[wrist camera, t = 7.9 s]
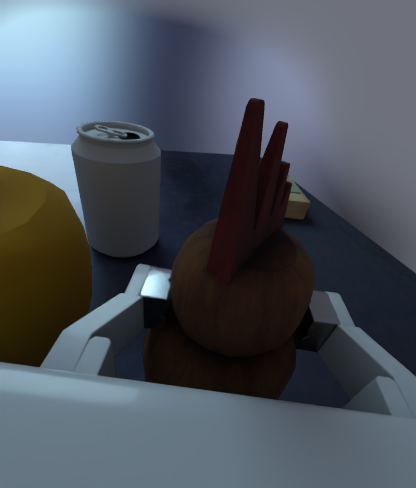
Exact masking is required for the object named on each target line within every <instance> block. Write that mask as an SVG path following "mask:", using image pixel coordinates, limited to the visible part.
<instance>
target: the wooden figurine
mask: <svg viewBox="0 0 416 488" xmlns="http://www.w3.org/2000/svg"><path fill="white" fill-rule="evenodd" d="M264 105H265V103H264V100H261V99H256V98H251V99H250V100H249V102H248V104H247V106H246V110H245V114H244V118H243V122H242V126H241V130H240V134H239V138H238V142H237V146H236V150H235V154H234V158H233V162H232V166H231V169H230V173H229V177H228V181H227V185H226V189H225V193H224V197H223V201H222V205H221V209H220V213H219V217H218V218H216V219H214V220H211V221H209V222H207V223H206V224H204V225H203V226H202V227H201V228H199V229H198V230H197V231H195V232H194V233H193V234H191V235H190V236H189V237H188V238H187V239H186V241H185V243H184V245H183V247H182V248H181V250H180V252H179V254H178V255H177V257H176V259H175V261H174V263H173V266H172V272H171V277H170V282H171V298H172V306H171V308H170V313H169V318H168V322H167V327H166V330H161V329H152V328H150V329H149V331H148V333H147V335H146V337H145V338H144V345H143V362H144V372H145V380H146V382H150V383H157V384H165V385H172V386H179V387H186V388H194V389H201V390H208V391H216V392H223V393H230V394H238V395H245V396H252V397H260V398H267V399H274V400H277V399H278V397H279V396H280V394H281V393H282V391H283V390H284V388H285V386H286V385H287V383H288V382H289V380H290V378H291V376H292V374H293V371H294V369H295V364H296V347H295V343H294V339H293V333H294V332H295V330H296V329H297V327H298V326H299V324H300V323H301V321H302V319H303V317H304V315H305V313H306V311H307V308H308V305H309V303H310V300H311V297H312V295H313V289H314V282H315V277H314V270H313V264H312V261H311V259H310V257H309V255H308V253H307V252H306V250H305V249H304V247H303V246H302V245H301V243H300V242H299V240H298V239H296V238H295V237H294V236H292V235H291V234H289V233H288V232H287V231H285V230H284V229H282V226H283V222H284V218H285V213H286V209H287V205H288V201H289V196H290V192H291V187H292V183H291V182H288V181H287V176H288V172H289V168H290V163H287V162H284V161H281V158H282V154H283V149H284V143H285V138H286V134H287V129H288V123H286V122H282V121H278V123H277V124H276V126H275V128H274V131H273V134H272V136H271V138H270V141H269V143H268V145H267V148H266V151H265V153H264V156H263V158H262V161H261V163H260V152H261V141H262V130H263V129H262V128H263V119H264ZM259 163H260V166H259Z"/></svg>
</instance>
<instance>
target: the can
mask: <svg viewBox="0 0 416 488" xmlns="http://www.w3.org/2000/svg"><path fill="white" fill-rule="evenodd" d="M77 133H78V134H79V136H78V138H77V139H76V140H75V141H74V143H73V144H72V145H71V150H72V156H73V161H74V166H75V172H76V177H77V183H78V188H79V193H80V199H81V204H82V210H83V215H84V220H85V226H86V231H87V237H88V242H89V243H90V245H91V246H92V247H93V248H94V249H96V250H97V251H99V252H101V253H104V254H106V255H109V256H113V257H122V258H126V257H132V256H136V255H139V254H141V253H143V252H145V251H147V250H148V249H150V248H151V247H152V246H154V245H155V243H156V242H157V240H158V236H159V203H160V165H161V150H160V149H159V148H158V147H157V146H156V144H155V143H154V142H153V140H152V139H153V138H154V133H153V132H152V131H151V130H150V129H147V128H145V127H143V126H140V125H136V124H131V123H125V122H115V121H94V122H87V123H83V124H81V125H79V126H78V127H77Z"/></svg>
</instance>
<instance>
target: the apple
mask: <svg viewBox="0 0 416 488" xmlns="http://www.w3.org/2000/svg"><path fill="white" fill-rule="evenodd" d="M91 295H92V266H91V256H90V248H89V244H88V241H87V238H86V234H85V231H84V227H83V225H82V223H81V221H80V219H79V217H78V216H77V214H76V212H75V210H74V208H73V206H72V205H71V203H70V201H69V199H68V197H67V195H66V193H65V192H64V191H63V190H61V189H60V188H58V187H57V186H55V185H54V184H52V183H50V182H48V181H46V180H44V179H42V178H40V177H38V176H35V175H33V174H31V173H29V172H24V171H20V170H16V169H12V168H8V167H4V166H0V362H4V363H11V364H19V365H26V366H33V367H40V366H41V364H42V363H43V361H44V360H45V358H46V356H47V355H48V353H49V352H50V350H51V349H52V347H53V345H54V344H55V342H56V341H57V339H58V337H59V336H60V334H61V333H62V331H63V330H64V329H66V328H67V327H69V326H70V325H72V324H74V323H75V322H77V321H78V320H80V319H81V318H83V317H84V316H86V315H87V314H88V311H89V307H90V301H91Z"/></svg>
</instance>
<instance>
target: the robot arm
mask: <svg viewBox="0 0 416 488" xmlns="http://www.w3.org/2000/svg"><path fill="white" fill-rule="evenodd" d="M171 272H172V269H168V268H162V267H157V266H149V265H144V264H139V265H138V266H137V267H136V269H135V271H134V273H133V276H132V278H131V280H130V282H129V284H128V287H127V289H126V291H125V293H124V294H123V293H120V294H118V295H117V296H115V297H114V298H112V299H111V300H109V301H108V302H106V303H104V304H103V305H101V306H100V307H98V308H97V309H95V310H94V311H92V312H91V313H89V314H87V315H86V316H84V317H83V318H81V319H80V320H78V321H77V322H75V323H74V324H72V325H70V326H69V327H67V328H66V329H64V330H63V331H62V333H61V334H60V336H59V337H58V339H57V341H56V342H55V344H54V345H53V347H52V349H51V350H50V352H49V353H48V355H47V356H46V358H45V360H44V361H43V363H42V364H41V366H40V367H33V366H26V365H19V364H11V363H4V362H0V488H416V377H415V376H414V375H413V374H412V373H411V372H410V371H408V370H407V369H406V368H405V367H404V366H403V365H402V364H400V363H399V362H398V361H397V360H396V359H395V358H393V357H392V356H391V355H390V354H389V353H388V352H387V351H385V350H384V349H383V348H382V347H381V346H380V345H378V344H377V343H376V342H375V341H374V340H373V339H372V338H370V337H369V336H368V335H367V334H366V333H365V332H363V331H362V330H361V329H360V328H357V327H355V325H354V323H353V321H352V319H351V317H350V315H349V313H348V311H347V309H346V307H345V305H344V302H343V300H342V298H341V296H340V295H339V294H338V293H332V292H324V291H317V290H313V295H312V297H311V300H310V303H309V305H308V308H307V311H306V313H305V315H304V317H303V319H302V321H301V323H300V324H299V326H298V327H297V329H296V330H295V332H294V333H293V339H294V343H295V347H296V349H301V350H307V351H313V352H317V354H318V356H319V357H320V358H321V360H322V361H323V362H324V363H325V365H326V366H327V367H328V369H329V370H330V371H331V373H332V374H333V375H334V377H335V378H336V379H337V381H338V382H339V383H340V384H341V386H342V387H343V388H344V390H345V391H346V392H347V394H348V395H349V396H350V398H351V400H350V401H349V402H348V403H347V404H345V405H344V406H343V408H342V409H340V408H332V407H325V406H318V405H311V404H303V403H296V402H289V401H282V400H274V399H267V398H260V397H252V396H245V395H238V394H230V393H223V392H216V391H208V390H201V389H194V388H186V387H179V386H172V385H165V384H157V383H150V382H143V381H135V380H128V379H121V378H117V374H116V368H115V362H114V358H115V357H116V356H117V355H118V354H119V353H120V352H121V351H122V350H123V349H124V348H125V347H126V346H127V345H128V344H129V343H130V342H131V341H132V340H133V339H134V338H135V337H136V336H137V335H138V334H139V333H140V332H141V331H143V330H144V328H152V329H161V330H166V327H167V322H168V318H169V313H170V308H171V306H172V298H171V282H170V277H171Z"/></svg>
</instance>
